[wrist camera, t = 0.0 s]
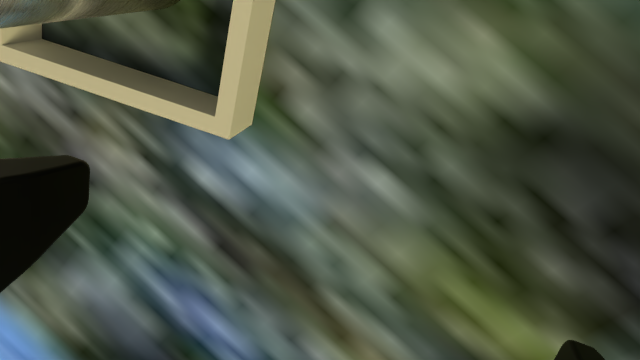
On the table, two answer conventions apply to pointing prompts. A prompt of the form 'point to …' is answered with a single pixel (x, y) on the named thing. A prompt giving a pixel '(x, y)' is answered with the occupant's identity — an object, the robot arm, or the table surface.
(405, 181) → the table surface
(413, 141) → the table surface
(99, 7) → the disc
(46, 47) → the frame
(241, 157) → the table surface
